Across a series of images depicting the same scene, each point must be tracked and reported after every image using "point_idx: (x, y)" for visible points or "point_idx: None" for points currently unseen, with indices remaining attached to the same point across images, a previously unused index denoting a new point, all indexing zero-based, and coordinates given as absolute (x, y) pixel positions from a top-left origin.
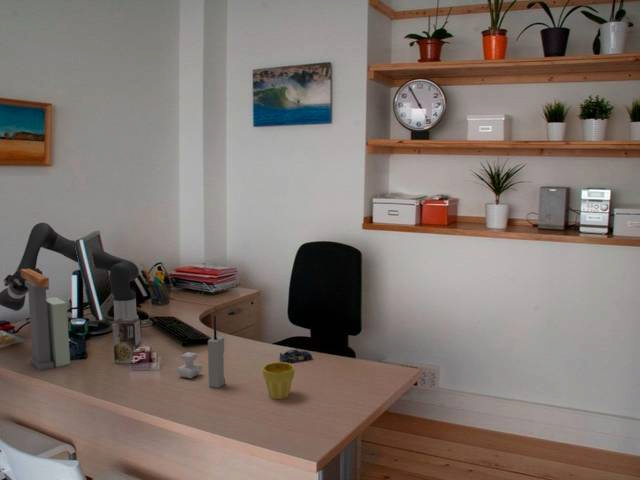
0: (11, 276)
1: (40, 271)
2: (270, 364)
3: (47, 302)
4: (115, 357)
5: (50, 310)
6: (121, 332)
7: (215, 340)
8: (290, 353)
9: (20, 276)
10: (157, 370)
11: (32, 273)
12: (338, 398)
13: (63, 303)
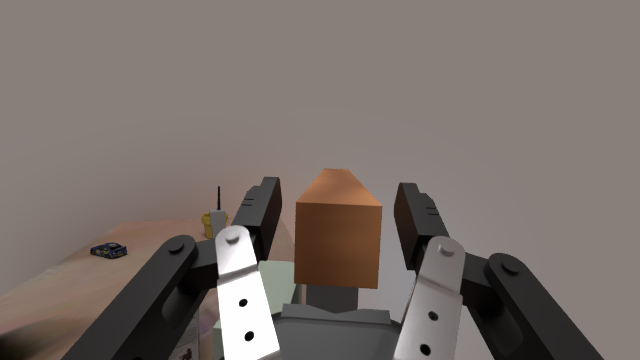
0: (475, 262)
1: (189, 238)
2: (209, 217)
3: (294, 292)
4: (198, 352)
5: (298, 299)
6: None
7: (222, 209)
8: (118, 244)
9: (383, 322)
10: (202, 303)
11: (341, 177)
12: (202, 225)
13: (270, 261)
